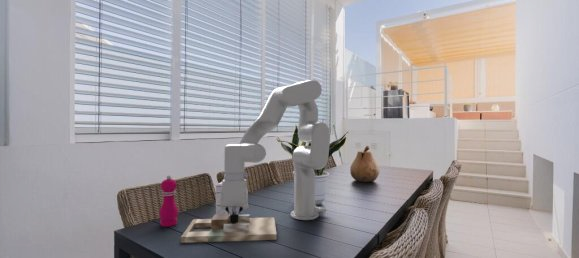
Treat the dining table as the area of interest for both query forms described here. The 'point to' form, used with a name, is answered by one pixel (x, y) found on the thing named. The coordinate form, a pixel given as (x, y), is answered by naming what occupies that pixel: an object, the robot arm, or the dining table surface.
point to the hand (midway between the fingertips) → (234, 224)
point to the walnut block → (220, 221)
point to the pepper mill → (168, 203)
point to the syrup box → (219, 200)
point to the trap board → (231, 230)
